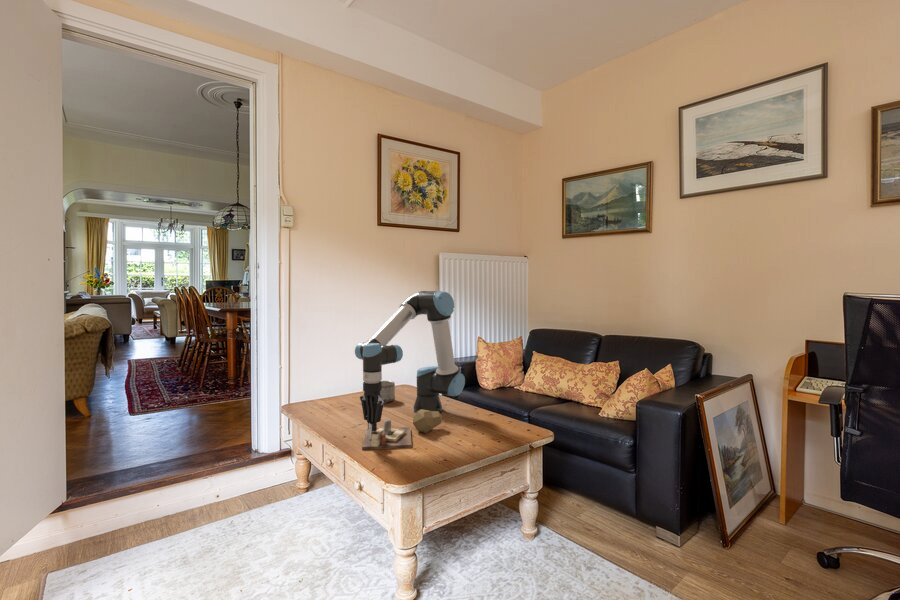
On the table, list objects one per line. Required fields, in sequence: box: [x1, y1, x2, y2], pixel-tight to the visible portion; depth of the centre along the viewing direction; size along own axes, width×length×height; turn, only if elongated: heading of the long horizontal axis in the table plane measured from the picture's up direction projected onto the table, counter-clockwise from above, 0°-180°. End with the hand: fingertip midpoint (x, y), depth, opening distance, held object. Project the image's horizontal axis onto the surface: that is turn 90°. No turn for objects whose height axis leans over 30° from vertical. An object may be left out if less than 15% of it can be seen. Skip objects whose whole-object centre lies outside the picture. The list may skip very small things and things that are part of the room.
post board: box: [361, 419, 412, 451], centre depth 189 cm, size 20×22×8 cm
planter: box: [380, 380, 396, 403], centre depth 250 cm, size 13×13×10 cm
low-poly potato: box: [412, 409, 443, 434], centre depth 200 cm, size 15×11×12 cm
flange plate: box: [372, 427, 406, 447], centre depth 185 cm, size 19×12×5 cm, turn 164°
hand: (372, 438), depth 180 cm, fingers closed
